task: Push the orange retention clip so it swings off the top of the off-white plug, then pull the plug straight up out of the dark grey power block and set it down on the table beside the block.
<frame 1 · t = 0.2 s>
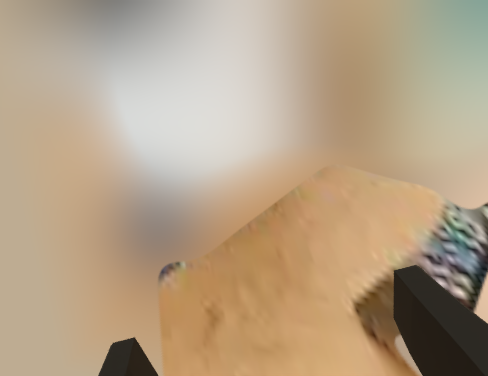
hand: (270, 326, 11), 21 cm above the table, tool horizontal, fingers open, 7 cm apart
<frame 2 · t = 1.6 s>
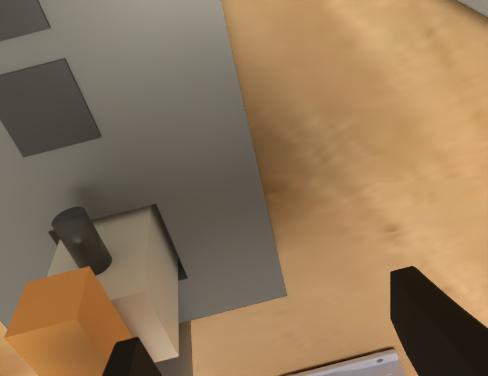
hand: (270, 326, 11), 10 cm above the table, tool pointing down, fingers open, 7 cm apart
plug: (110, 248, 17), in the power block
clip: (135, 320, 18), point 5 cm above the table, hinge at 0.0°
power block: (128, 216, 21), on the table
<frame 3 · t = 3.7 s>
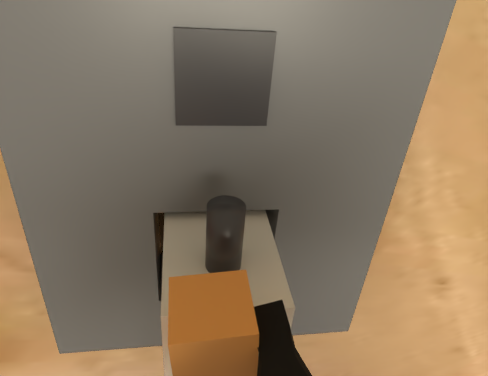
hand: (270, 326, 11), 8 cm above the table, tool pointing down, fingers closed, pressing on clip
plug: (217, 247, 16), in the power block
clip: (209, 333, 16), point 5 cm above the table, hinge at 3.9°, touching gripper
power block: (210, 214, 19), on the table
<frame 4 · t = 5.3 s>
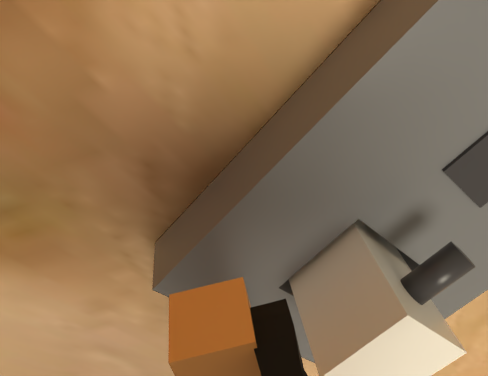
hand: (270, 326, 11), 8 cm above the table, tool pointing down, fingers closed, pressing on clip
plug: (377, 272, 18), in the power block
clip: (236, 335, 16), point 5 cm above the table, hinge at 52.3°, touching gripper
power block: (330, 234, 21), on the table
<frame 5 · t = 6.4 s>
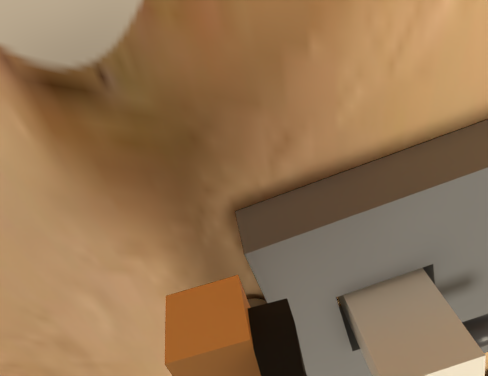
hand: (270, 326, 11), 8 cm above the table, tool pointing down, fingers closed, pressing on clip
plug: (419, 314, 20), in the power block
clip: (242, 332, 16), point 5 cm above the table, hinge at 85.5°, touching gripper
power block: (366, 268, 23), on the table
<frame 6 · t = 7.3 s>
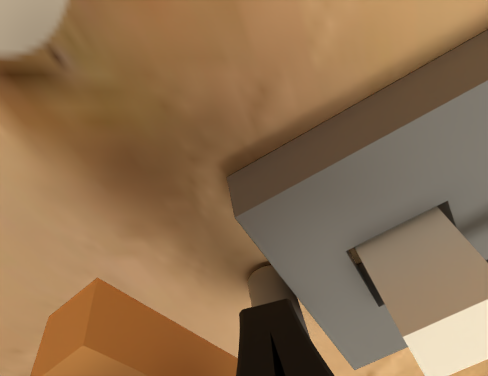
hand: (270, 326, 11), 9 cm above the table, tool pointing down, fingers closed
plug: (442, 257, 18), in the power block
clip: (217, 312, 16), point 5 cm above the table, hinge at 100.3°
power block: (383, 219, 21), on the table
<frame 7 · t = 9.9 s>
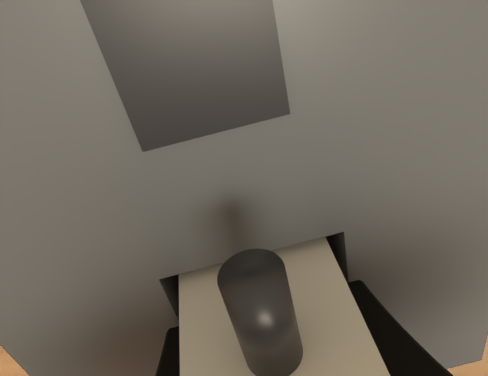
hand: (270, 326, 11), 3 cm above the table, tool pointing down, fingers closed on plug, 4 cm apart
plug: (265, 308, 10), in the power block, touching gripper
power block: (251, 244, 14), on the table
when the fingers open (5 cm above the table, at t = 13.8 s): plug drops 1 cm, on the table.
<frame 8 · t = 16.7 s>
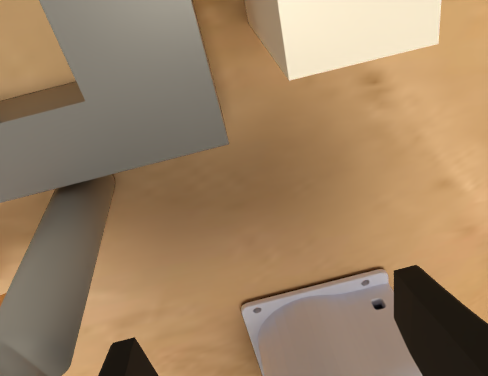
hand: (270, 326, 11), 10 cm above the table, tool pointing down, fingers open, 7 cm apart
power block: (14, 31, 16), on the table
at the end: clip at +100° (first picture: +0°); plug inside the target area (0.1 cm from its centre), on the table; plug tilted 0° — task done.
